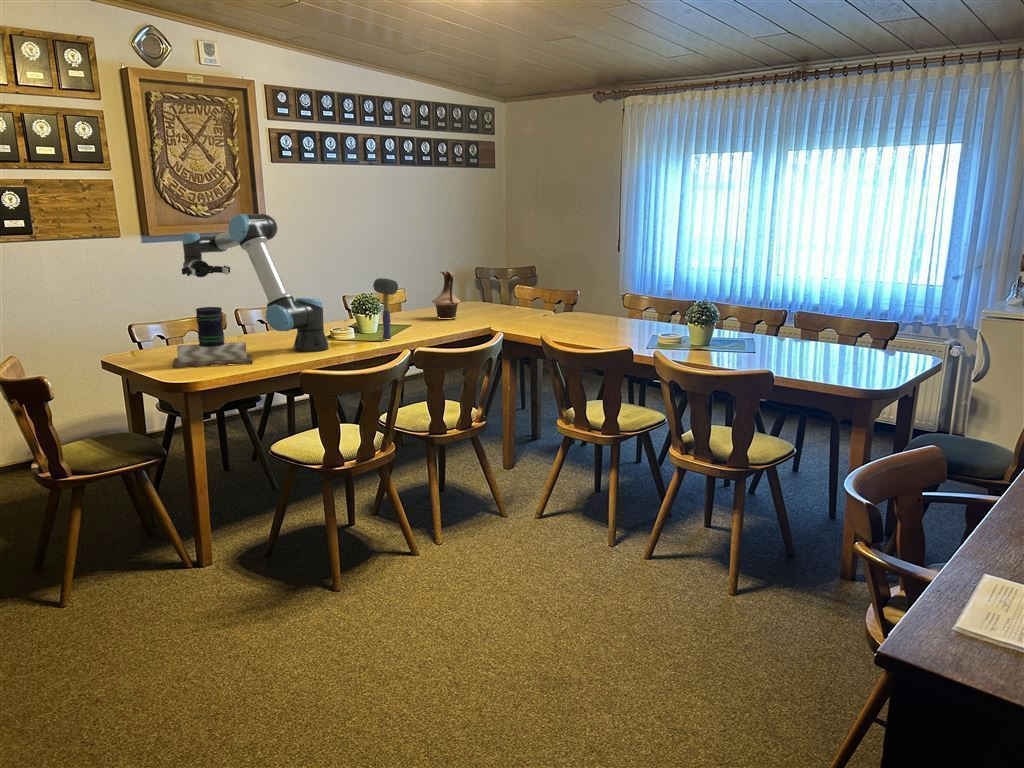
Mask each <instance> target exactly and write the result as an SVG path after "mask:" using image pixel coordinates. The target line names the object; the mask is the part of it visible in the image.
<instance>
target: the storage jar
mask: <svg viewBox="0 0 1024 768" xmlns="http://www.w3.org/2000/svg"><path fill="white" fill-rule="evenodd" d="M195 312H196V316H195V317H196V323H197V328H198V330H197V331H198V332H197V337H198V338H197V339H198V342H199V343H198V344H199V346H201V347H217V346H222V345H224V343H225V333H224V328H223V327H224V326H223V321H224V319H223V311H222V307H221V306H220V307H219V306H207V307H206V306H205V307H197V308H195Z"/></svg>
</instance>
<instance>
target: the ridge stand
mask: <svg viewBox="0 0 1024 768" xmlns="http://www.w3.org/2000/svg"><path fill="white" fill-rule="evenodd" d="M176 353H177V357H175V358H174V359H173V362H172V364H171V365H172V366H171V368H177V369H186V368H185V367H194V368H200V367H199V366H211V365H228V364H246V365H250V364H249V363H253V356H252V354H251V353H250V354H249V353H247V342H245V341H243V342H242V341H240V342H239V341H238V342H224V345H222V346H217V347H201V346H199V343H198V344H178V345H176ZM228 366H229V365H228ZM211 367H212V366H211Z"/></svg>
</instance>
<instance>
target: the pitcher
mask: <svg viewBox="0 0 1024 768" xmlns="http://www.w3.org/2000/svg"><path fill="white" fill-rule="evenodd" d="M440 273H441V274H442V275H443V279H444V282H443V289H442V291H441V292H440V294H439V295H438V296H437V297H436V298H434V299H432V301H431V303H434V305H435V309H436V316H437V317H440V318H453V317H456V318H457V310H458V306H459V303H461V302H462V301H461V300H460V299H459V298H457V296H456V295H455V294H454V293H453V285H454V275H455V274H454V273H453V272H452V271H450V270H446V271H440ZM437 317H436V318H437Z"/></svg>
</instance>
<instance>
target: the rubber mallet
mask: <svg viewBox="0 0 1024 768" xmlns="http://www.w3.org/2000/svg"><path fill="white" fill-rule="evenodd" d="M372 287H373V290H374V291H375V292H376V293H380V294H382V296H383V297H382V298H383V299H382V303H383V304H382V305H383V306H382V308H383V310H382V326H383V327H382V328H383V329H382V331H383V333H382V338H383V340H384V339H390V340H391V339H392V334H391V322H392V321H391V313H390V307H389V305H390V303H389V302H390V301H389V295H391V296H392V295H395V294H396V293H397V292H398V291H399V284H398V283H397V281H396V280H393V279H390V278H385V277H384V278H382V277H381V278H377V279H375V280H374V281H373V285H372Z"/></svg>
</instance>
